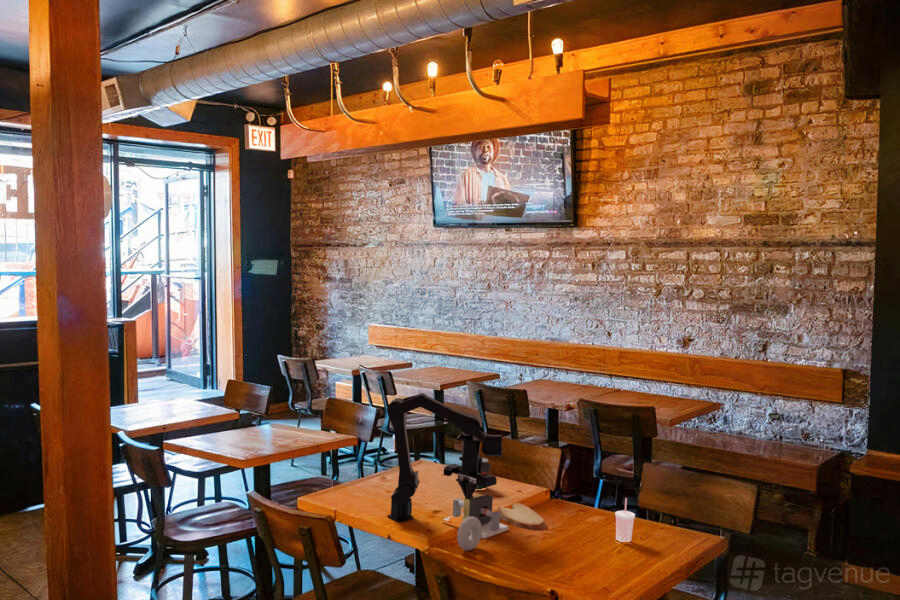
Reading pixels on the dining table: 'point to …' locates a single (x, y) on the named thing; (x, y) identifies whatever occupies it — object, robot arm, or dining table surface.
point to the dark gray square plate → (479, 503)
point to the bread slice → (522, 517)
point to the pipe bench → (487, 528)
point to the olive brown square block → (468, 505)
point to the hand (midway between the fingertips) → (468, 501)
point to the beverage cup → (624, 524)
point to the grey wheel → (464, 530)
